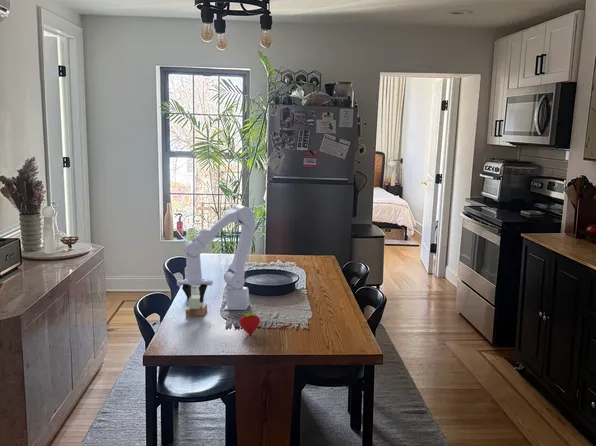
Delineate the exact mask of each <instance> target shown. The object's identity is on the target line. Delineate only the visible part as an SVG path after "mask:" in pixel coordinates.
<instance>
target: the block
mask: <svg viewBox="0 0 596 446" xmlns="http://www.w3.org/2000/svg"><path fill="white" fill-rule="evenodd" d="M207 313H208V304H207V303H203V306H202V307H201V308H200V309H189V305H188V306H187V308H186V309H185V317H186V318H204V317H205V315H206V314H207Z"/></svg>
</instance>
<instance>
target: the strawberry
mask: <svg viewBox="0 0 596 446" xmlns="http://www.w3.org/2000/svg"><path fill="white" fill-rule="evenodd" d="M241 315H242V316H241V317H240V318H239V324H240V327H241V328H242V329H243V330H244V331H245V332H246V333H247V334H248V336H249V335H250V336H251V335H253V334H254V332H255V331H256V330H257V329H258V327H259V326H260V322H261V319H260V317H259V316H258V315H257V313H254V312H249V311H247V313H242V314H241Z"/></svg>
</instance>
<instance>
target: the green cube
mask: <svg viewBox="0 0 596 446" xmlns="http://www.w3.org/2000/svg"><path fill="white" fill-rule="evenodd" d="M203 304H204V302H202V303H200V295H191V296H190V298H189V302H188V306H189V309H200V308H201V307H202V306H203Z"/></svg>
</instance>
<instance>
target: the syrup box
mask: <svg viewBox="0 0 596 446" xmlns="http://www.w3.org/2000/svg"><path fill="white" fill-rule="evenodd" d="M184 275H185V276H184V278H185V279H187V266H186V267H184ZM202 276H203V273H201V278H202ZM185 279H184V280H185ZM202 279H203V278H202ZM199 287H200V285H191V295H200V292H199Z"/></svg>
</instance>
